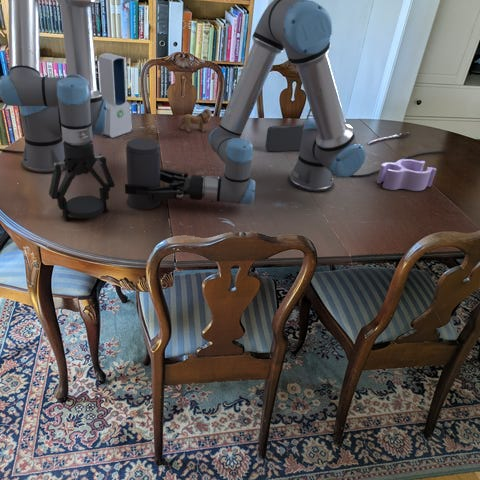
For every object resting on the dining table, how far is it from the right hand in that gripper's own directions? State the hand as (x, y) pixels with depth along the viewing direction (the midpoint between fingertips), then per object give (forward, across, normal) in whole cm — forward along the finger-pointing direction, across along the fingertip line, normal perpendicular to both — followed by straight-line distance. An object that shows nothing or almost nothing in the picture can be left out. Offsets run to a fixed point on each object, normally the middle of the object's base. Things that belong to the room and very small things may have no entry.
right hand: (129, 181), depth 140 cm
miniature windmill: (-66, +87, -7) cm, 109 cm away
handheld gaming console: (-54, +55, -7) cm, 77 cm away
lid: (+11, -10, -4) cm, 15 cm away
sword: (-101, +79, -7) cm, 128 cm away
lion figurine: (-13, +67, -7) cm, 69 cm away
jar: (-4, 0, -7) cm, 8 cm away
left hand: (+11, -10, -6) cm, 16 cm away
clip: (-94, +32, -7) cm, 99 cm away
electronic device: (+18, +55, -7) cm, 58 cm away
